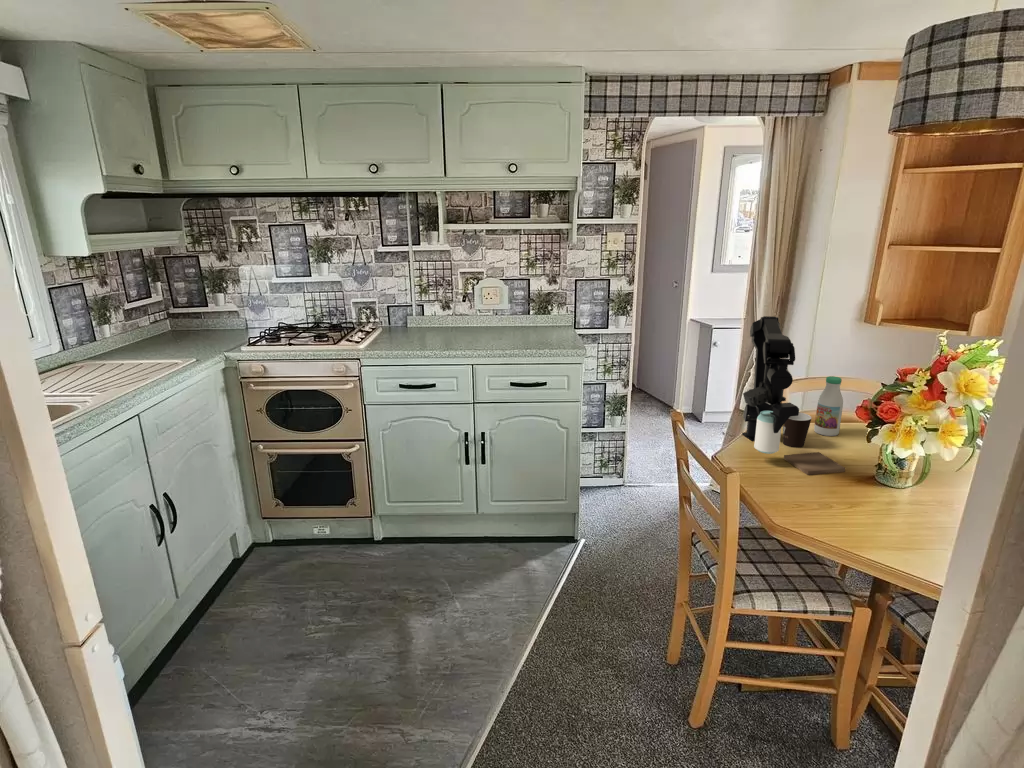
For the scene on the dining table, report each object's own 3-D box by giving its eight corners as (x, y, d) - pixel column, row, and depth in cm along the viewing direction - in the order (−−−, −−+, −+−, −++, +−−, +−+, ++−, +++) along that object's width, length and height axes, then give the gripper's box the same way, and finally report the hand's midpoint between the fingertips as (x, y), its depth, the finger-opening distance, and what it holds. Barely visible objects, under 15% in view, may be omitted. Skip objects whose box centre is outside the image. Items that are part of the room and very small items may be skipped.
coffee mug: (804, 451, 185) (808, 422, 182) (776, 445, 190) (779, 417, 188) (812, 439, 194) (815, 412, 191) (784, 434, 199) (788, 407, 196)
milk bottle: (819, 426, 205) (827, 373, 199) (842, 432, 200) (850, 377, 194) (809, 432, 201) (817, 377, 195) (832, 438, 195) (841, 382, 189)
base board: (783, 458, 180) (784, 455, 180) (818, 455, 182) (818, 452, 182) (807, 475, 169) (808, 471, 169) (844, 471, 171) (845, 468, 170)
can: (782, 449, 177) (786, 413, 174) (773, 456, 173) (777, 419, 169) (759, 443, 182) (763, 408, 179) (750, 450, 177) (753, 413, 174)
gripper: (732, 373, 178) (728, 420, 183) (766, 390, 161) (761, 442, 165) (766, 371, 180) (761, 417, 184) (803, 388, 162) (796, 439, 167)
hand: (768, 428), depth 175 cm, fingers closed on can, 7 cm apart
